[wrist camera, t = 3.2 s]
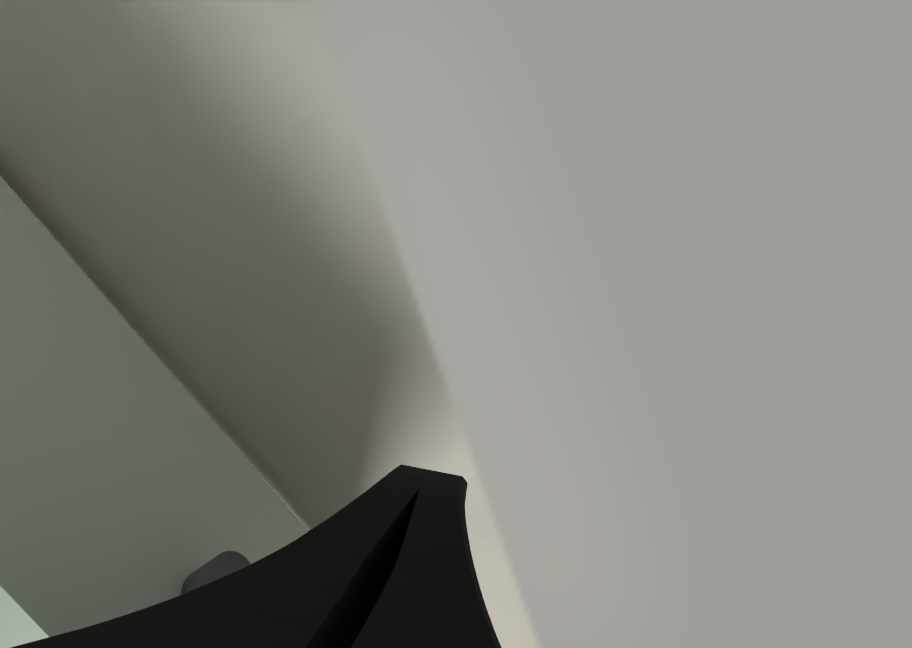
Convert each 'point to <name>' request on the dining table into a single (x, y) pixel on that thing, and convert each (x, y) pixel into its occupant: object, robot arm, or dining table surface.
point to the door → (105, 457)
